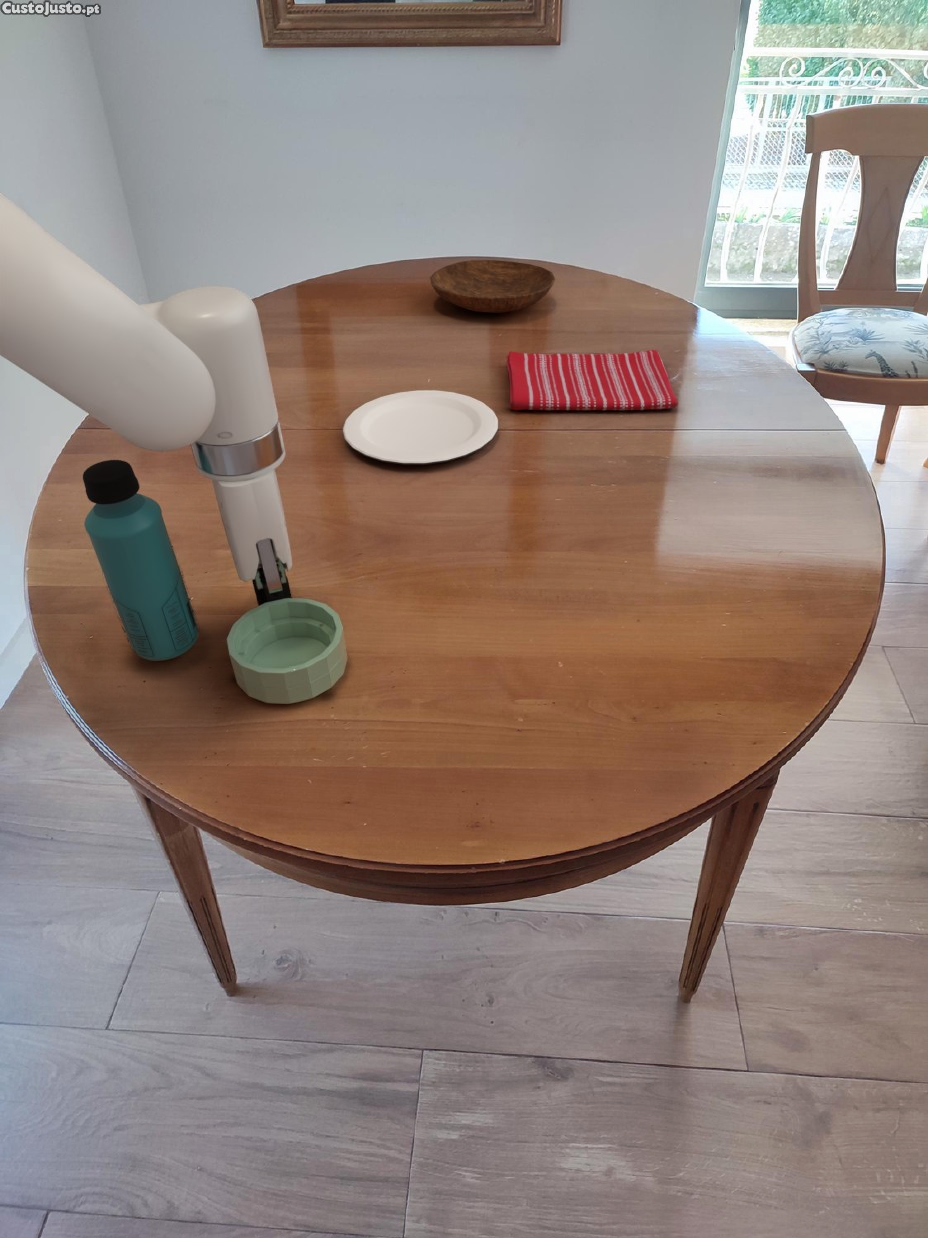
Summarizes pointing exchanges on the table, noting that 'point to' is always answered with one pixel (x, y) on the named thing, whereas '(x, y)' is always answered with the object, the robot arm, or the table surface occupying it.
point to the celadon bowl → (287, 650)
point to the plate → (420, 427)
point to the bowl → (492, 285)
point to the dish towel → (589, 381)
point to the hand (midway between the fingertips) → (277, 610)
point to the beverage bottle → (138, 563)
